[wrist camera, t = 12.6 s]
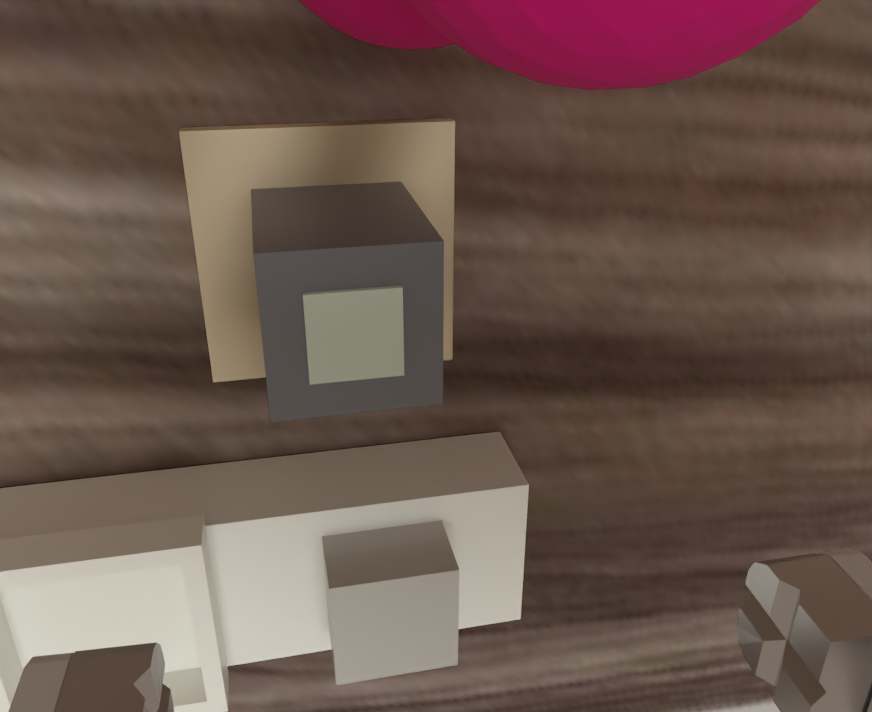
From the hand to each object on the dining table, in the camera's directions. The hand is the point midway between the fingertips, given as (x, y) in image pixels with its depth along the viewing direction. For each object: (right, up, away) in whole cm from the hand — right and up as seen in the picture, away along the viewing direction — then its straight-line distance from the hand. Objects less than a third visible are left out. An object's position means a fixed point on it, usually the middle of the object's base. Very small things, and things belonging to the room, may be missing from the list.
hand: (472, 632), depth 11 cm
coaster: (-4, +7, +15) cm, 17 cm away
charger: (-4, +7, +14) cm, 16 cm away
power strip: (-12, -3, +18) cm, 22 cm away
